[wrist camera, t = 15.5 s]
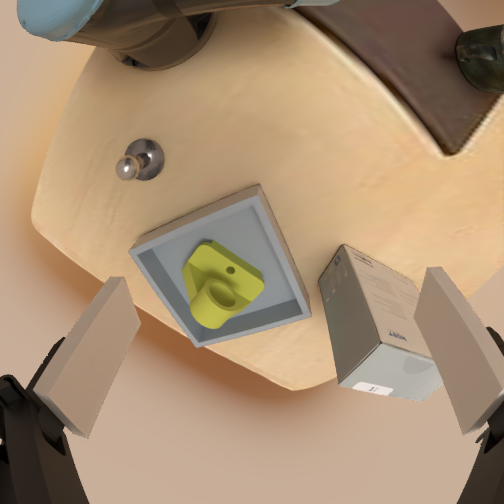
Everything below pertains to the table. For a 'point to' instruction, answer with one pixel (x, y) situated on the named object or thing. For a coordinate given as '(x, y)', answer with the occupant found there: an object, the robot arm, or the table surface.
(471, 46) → the mug
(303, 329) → the table surface
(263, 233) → the bin
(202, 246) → the bracket
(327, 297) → the hard drive box
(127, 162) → the ball stud
